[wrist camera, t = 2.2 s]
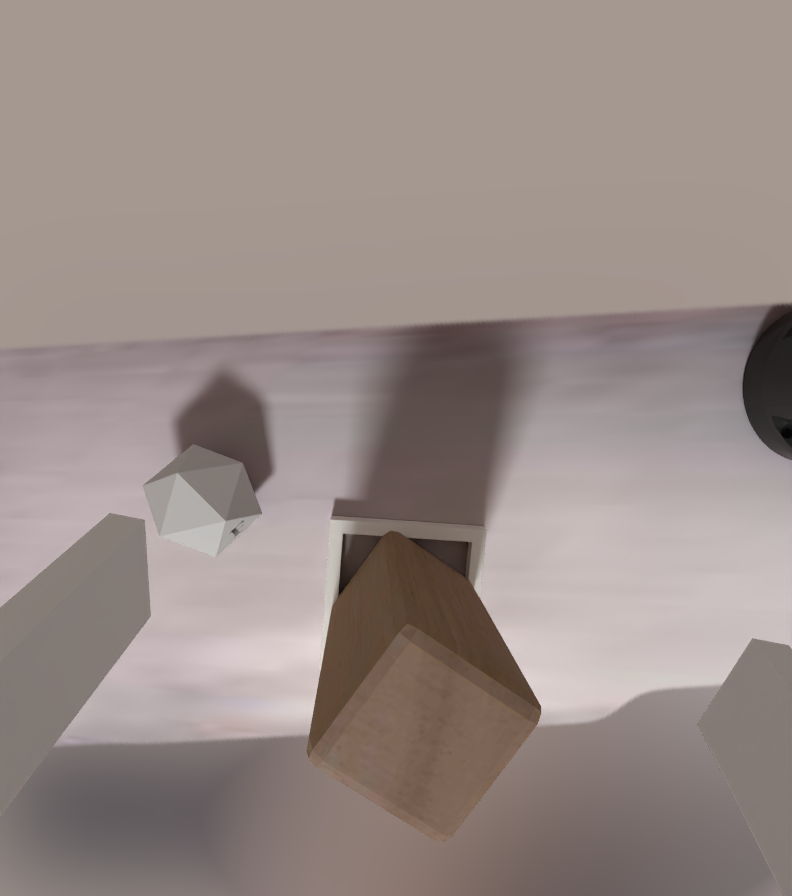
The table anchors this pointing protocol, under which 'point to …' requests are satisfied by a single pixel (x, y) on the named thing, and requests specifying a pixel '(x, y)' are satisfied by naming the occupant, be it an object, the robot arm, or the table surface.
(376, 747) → the wooden block
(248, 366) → the table surface
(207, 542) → the die
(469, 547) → the base frame
